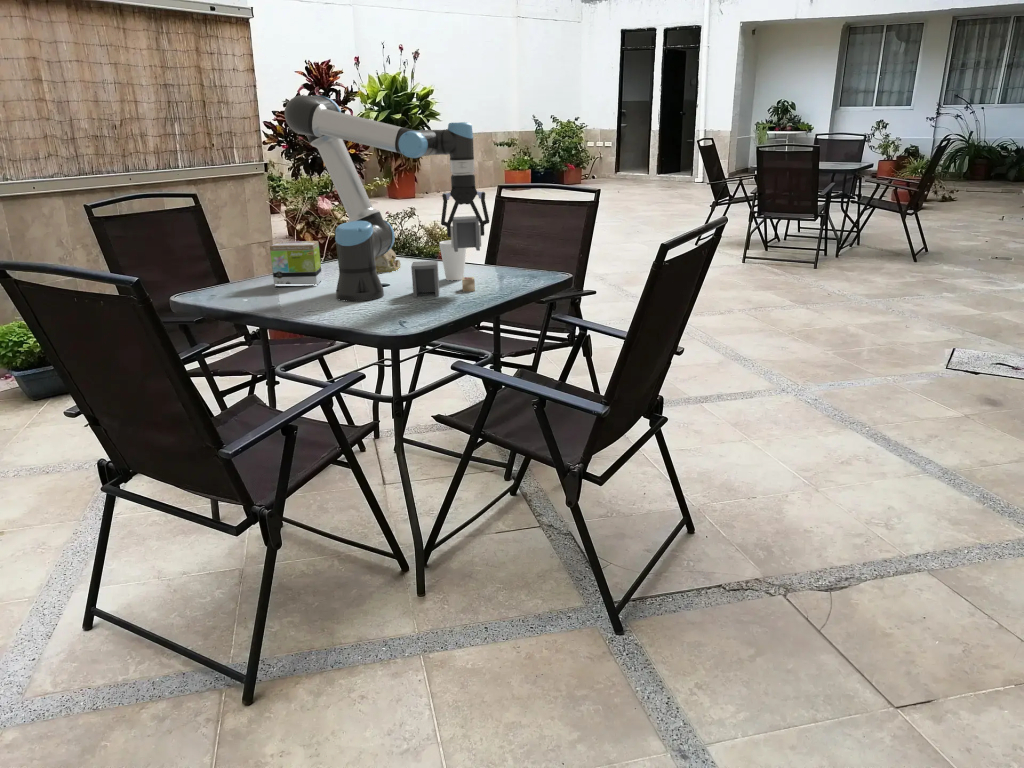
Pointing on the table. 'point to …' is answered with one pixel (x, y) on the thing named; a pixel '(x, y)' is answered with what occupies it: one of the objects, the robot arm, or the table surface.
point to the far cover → (466, 232)
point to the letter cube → (468, 283)
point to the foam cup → (453, 261)
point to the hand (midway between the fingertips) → (466, 246)
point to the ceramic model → (387, 262)
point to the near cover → (425, 277)
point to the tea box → (296, 262)
